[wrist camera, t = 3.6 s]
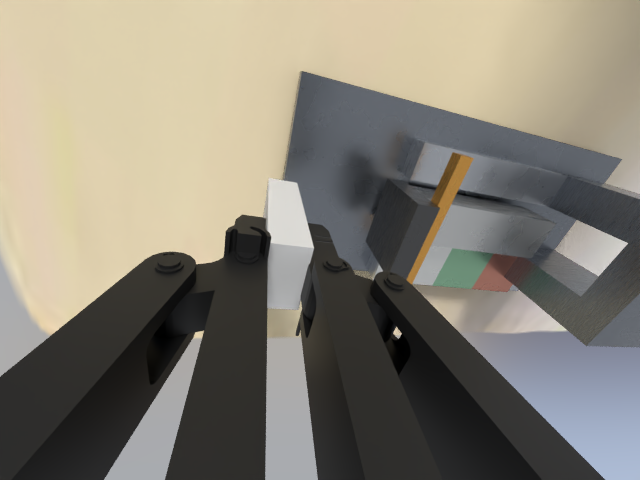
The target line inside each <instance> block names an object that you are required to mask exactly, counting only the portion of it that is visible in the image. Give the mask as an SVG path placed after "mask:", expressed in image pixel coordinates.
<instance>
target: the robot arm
mask: <svg viewBox="0 0 640 480" xmlns="http://www.w3.org/2000/svg"><path fill="white" fill-rule="evenodd" d="M300 301H301V302H302V311H301V315H300V319H299V323H298V326H297V330H296V336H299V333H300V330H301V337H302V345H303V354H304V363H305V372H306V380H307V388H308V397H309V406H310V414H311V423H312V432H313V440H314V449H315V458H316V466H317V474H318V480H605V479H604V478H603V477H602V476H601V475H600V474H599V473H598V472H597V471H596V470H595V469H594V468H593V467H592V466H591V465H590V464H589V463H588V462H587V461H586V460H585V459H584V458H583V457H582V456H581V455H580V454H579V453H578V452H577V451H576V450H575V449H574V448H573V447H572V446H571V445H570V444H569V443H568V442H567V441H566V440H565V439H564V438H563V437H562V436H561V435H560V434H559V433H558V432H557V431H556V430H555V429H554V428H553V427H552V426H551V425H550V424H549V423H548V422H547V421H546V420H545V419H544V418H543V417H542V416H541V415H540V414H539V413H538V412H537V411H536V410H535V409H534V408H533V407H532V406H531V405H530V404H529V403H528V402H527V401H526V400H525V399H524V398H523V396H522V395H521V394H520V393H518V392H517V390H516V389H515V388H514V387H513V386H512V385H511V384H510V383H509V382H507V380H506V379H505V378H504V377H503V376H502V375H501V374H500V373H499V372H498V371H497V370H496V369H495V368H494V367H493V366H492V365H491V364H490V363H489V362H488V361H487V360H486V359H485V358H484V357H483V356H482V355H481V354H480V353H479V352H478V351H477V350H476V349H475V348H474V347H473V346H472V345H471V344H470V343H469V342H468V341H467V340H466V339H465V338H464V337H463V336H462V335H461V334H460V333H459V332H458V331H457V330H456V329H455V328H454V327H453V326H452V325H451V324H450V323H449V322H448V321H447V320H446V319H445V318H444V317H443V316H442V315H441V314H440V313H439V312H438V311H437V310H436V309H435V308H434V307H433V306H432V305H431V304H430V303H429V302H428V301H427V300H426V299H425V298H424V297H423V296H422V295H421V294H420V293H419V292H418V291H417V290H416V289H415V288H414V287H413V286H412V285H411V284H410V283H409V282H408V281H407V280H406V279H405V278H403V277H401V276H399V275H398V274H396V273H392V272H384V271H383V272H379V273H377V274H376V275H375V278H374V280H370V279H367V278H363V277H360V276H358V275H355V274H354V272H353V269H352V267H351V266H350V264H349V263H348V262H346V261H345V260H344V259H342V258H339V256H338V254H337V251H336V249H335V246H334V243H333V241H332V238H331V236H330V233H329V231H328V230H327V229H326V228H325V227H324V226H323V225H319V224H312V223H307V219H306V215H305V211H304V207H303V204H302V200H301V196H300V192H299V188H298V184H297V183H295V182H290V181H284V180H278V179H272V178H269V180H268V187H267V194H266V201H265V208H264V215H263V218H262V217H255V216H247V215H241V216H240V217H239V218H237V219H236V221H235V225H234V226H232V227H229V228H228V229H227V231H226V236H225V251H224V257H223V258H222V259H220V260H218V261H215V262H212V263H206V264H197V265H196V262H195V260H194V259H193V258H192V257H191V256H189V255H187V254H184V253H179V252H163V253H159V254H156V255H152V256H151V257H149V258H147V259H145V260H144V261H143V262H142V263H140V264H139V265H138V266H137V267H135V268H134V269H133V270H132V271H130V272H129V273H128V274H127V275H126V276H124V277H123V278H122V279H121V280H119V281H118V282H117V283H116V284H114V285H113V286H112V287H111V288H109V289H108V290H107V291H106V292H105V293H103V294H102V295H101V296H100V297H98V298H97V299H96V300H95V301H93V302H92V303H91V304H90V305H88V306H87V307H86V308H85V309H83V310H82V311H81V312H80V313H79V314H77V315H76V316H75V317H74V318H72V319H71V320H70V321H69V322H67V323H66V324H65V325H64V326H62V327H61V328H60V329H59V330H58V331H56V332H55V333H54V334H53V335H51V336H50V337H49V338H48V339H46V340H45V341H44V342H43V343H42V344H40V345H39V346H38V347H36V348H35V349H34V350H33V351H32V352H30V353H29V354H28V355H27V356H25V357H24V358H23V359H22V360H20V361H19V362H18V363H17V364H16V365H14V366H13V367H12V368H11V369H9V370H8V371H7V372H6V373H4V374H3V375H2V376H1V377H0V480H104V478H105V477H106V475H107V474H108V472H109V470H110V469H111V467H112V466H113V464H114V462H115V460H116V459H117V458H118V456H119V454H120V453H121V451H122V450H123V448H124V447H125V445H126V443H127V442H128V440H129V439H130V437H131V436H132V434H133V432H134V431H135V429H136V428H137V426H138V424H139V423H140V421H141V420H142V418H143V416H144V415H145V413H146V412H147V410H148V408H149V407H150V405H151V404H152V402H153V401H154V399H155V397H156V396H157V394H158V393H159V391H160V389H161V388H162V386H163V384H164V383H165V381H166V380H167V378H168V377H169V375H170V374H171V372H172V370H173V369H174V367H175V366H176V364H177V362H178V361H179V359H180V358H181V356H182V354H183V353H184V351H185V350H186V348H187V346H188V345H189V343H190V342H191V340H192V339H193V337H194V334H195V332H199V331H203V330H204V334H203V338H202V341H201V345H200V349H199V353H198V357H197V360H196V364H195V368H194V372H193V376H192V380H191V383H190V387H189V391H188V395H187V398H186V402H185V406H184V410H183V414H182V418H181V421H180V425H179V429H178V433H177V436H176V440H175V444H174V448H173V452H172V455H171V459H170V463H169V467H168V471H167V474H166V478H165V480H265V447H266V445H265V444H266V442H265V441H266V366H267V365H266V364H267V308H273V309H292V310H298V309H299V305H300ZM396 326H397V328H398V329H399V330H400V332H401V333H402V335H401V336H400V338H399V339H398V338H397V337H395V335H394V334H393V332H394V330H395V328H396Z"/></svg>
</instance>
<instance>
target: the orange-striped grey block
mask: <svg viewBox="0 0 640 480" xmlns="http://www.w3.org/2000/svg"><path fill="white" fill-rule="evenodd" d="M473 159H474V158H472V157H469V156H466V155H463V154H459V153H455V152H453V153H452V155H451V157H450V159H449V162H448V164H447V166H446V168H445V171H444V173H443V175H442V177H441V179H440V182H439V184H438V186H437V188H436V190H432V189H427V188H421V187H416V186H411V185H409V184H408V183H406V182H404V181H399V180H394V179H389V178H387V181H386V184H385V187H384V190H383V192H382V195H381V198H380V201H379V204H378V207H377V209H376V212H375V215H374V218H373V221H372V224H371V226H370V229H369V232H368V235H367V238H366V243H367V245H368V246H369V248H370V250H371V251H372V253H373V255H374V256H375V258H376V260H377V261H378V263H379V265H380V267H381V268H382V270H383V271H384V272H392V273H396V274H398V275H399V276H401V277H403V278H405V279H406V280H407V281H408V282H409V283H410V284H411V285H412V283H413V281H414V279H415V277H416V275H417V273H418V271H419V269H420V267H421V265H422V263H423V261H424V259H425V257H426V255H427V253H428V251H429V249H430V247H431V246H439V247H447V248H455V249H462V250H470V251H478V252H486V253H494V254H501V255H509V256H517V257H525V258H532V257H533V255H534V254H535V253H536V251H537V250H538V248H539V247H540V246H541V244H542V243H543V241H544V240H545V239H546V237H547V236H548V234H549V233H550V232H551V230H552V229H553V227H554V226H555V225H556V223H555V222H553V221H551V220H549V219H547V218H545V217H543V216H541V215H539V214H537V213H535V212H533V211H531V210H529V209H527V208H525V207H522V206H517V205H512V204H507V203H501V202H496V201H491V200H485V199H480V198H475V197H469V196H464V195H459V194H457V192H458V190H459V188H460V186H461V184H462V181H463V179H464V177H465V175H466V173H467V171H468V169H469V167H470V165H471V163H472V161H473Z"/></svg>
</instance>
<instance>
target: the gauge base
mask: <svg viewBox="0 0 640 480" xmlns="http://www.w3.org/2000/svg"><path fill="white" fill-rule="evenodd" d="M453 152H455V153H459V154H463V155H466V156H469V157H472V158H474V159H473V161H472V163H471V165H470V167H469V169H468V171H467V173H466V175H465V177H464V179H463V181H462V184H461V186H460V188H459V190H458V192H457V194H459V195H464V196H469V197H475V198H480V199H485V200H491V201H496V202H501V203H507V204H512V205H517V206H522V207H525V208H527V209H529V210H531V211H533V212H535V213H537V214H539V215H541V216H543V217H545V218H547V219H549V220H551V221H553V222H555V223H556V225H555V226H554V227H553V229H552V230H551V232H550V233H549V234H548V236H547V237H546V239H545V240H544V241H543V243H542V244H541V246H540V247H539V248H538V250H537V251H536V253H535V254H534V255H533V257H532V258H525V257H517V256H509V255H501V254H494V253H486V252H478V251H470V250H462V249H455V248H447V247H439V246H431V247H430V249H429V251H428V253H427V255H426V257H425V259H424V261H423V263H422V265H421V267H420V269H419V271H418V273H417V275H416V277H415V279H414V281H413V283H412V284H420V285H432V286H444V287H455V288H467V289H479V290H490V291H502V292H508V290H513V291H518V290H520V291H521V292H523V293H524V294H525V295H526V296H527V297H529V298H530V299H531V300H532V301H533V302H535V303H536V304H537V305H538V306H539V307H540V308H542V309H543V310H544V311H545V312H546V313H548V314H549V315H550V316H551V317H552V318H554V319H555V320H556V321H557V322H558V323H560V324H561V325H562V326H563V327H564V328H566V329H567V330H568V331H569V332H570V333H572V334H573V335H574V336H575V337H577V339H579V340H580V341H581V342H582V343H583V344H585V345H586V346H609V347H610V346H611V347H640V194H637V193H634V192H631V191H627V190H624V189H621V188H618V187H614V186H611V185H608V184H605V181H606V180H607V179H608V177H609V176H610V175H611V173H612V172H613V171H614V169H615V168H616V167H617V165H618V164H619V163H620V161H621V160H622V159H619V158H615V157H612V156H608V155H605V154H601V153H597V152H594V151H590V150H586V149H583V148H579V147H575V146H572V145H568V144H565V143H561V142H557V141H554V140H550V139H546V138H543V137H539V136H536V135H532V134H528V133H525V132H521V131H517V130H514V129H510V128H507V127H503V126H499V125H496V124H492V123H488V122H485V121H481V120H477V119H474V118H470V117H467V116H463V115H459V114H456V113H452V112H448V111H445V110H441V109H438V108H434V107H430V106H427V105H423V104H419V103H416V102H412V101H409V100H405V99H401V98H398V97H394V96H390V95H387V94H383V93H379V92H376V91H372V90H369V89H365V88H361V87H358V86H354V85H350V84H347V83H343V82H340V81H336V80H332V79H329V78H325V77H321V76H318V75H314V74H311V73H307V72H303V71H301V72H300V76H299V82H298V88H297V95H296V101H295V107H294V113H293V119H292V125H291V131H290V138H289V144H288V150H287V156H286V162H285V168H284V175H283V180H284V181H290V182H295V183H297V184H298V188H299V192H300V196H301V200H302V204H303V207H304V211H305V215H306V219H307V223H312V224H319V225H323V226H324V227H325V228H326V229H327V230H328V231H329V233H330V236H331V238H332V241H333V243H334V246H335V249H336V251H337V254H338V256H339V258H342V259H344V260H345V261H346V262H348V263H349V264H350V266H351V267H352V269H353V270H361V271H368V272H369V274H370V276H371V278H372V280H374V278H375V275H376V274H377V273H379V272H383V270H382V268H381V267H380V265H379V263H378V261H377V260H376V258H375V256H374V255H373V253H372V251H371V250H370V248H369V246H368V245H367V243H366V238H367V235H368V232H369V229H370V226H371V224H372V221H373V218H374V215H375V212H376V209H377V207H378V204H379V201H380V198H381V195H382V192H383V190H384V187H385V184H386V181H387V178H389V179H394V180H399V181H404V182H406V183H408V184H409V185H411V186H416V187H421V188H427V189H432V190H436V188H437V186H438V184H439V182H440V179H441V177H442V175H443V173H444V171H445V168H446V166H447V164H448V162H449V159H450V157H451V155H452V153H453ZM576 220H579V221H581V222H583V223H585V224H587V225H590V226H592V227H594V228H596V229H598V230H601V231H603V232H605V233H607V234H610V235H612V236H614V237H616V238H618V239H621V240H623V241H625V242H627V243H628V245H627V246H626V247H625V248H624V249H623V250H622V251H621V252H620V254H619V255H618V256H617V257H616V258H615V259H614V260H613V261H612V262H611V264H610V265H609V266H608V267H607V268H606V269H605V270H604V271H603V273H602V274H601V275H600V276H599V277H598V276H597V275H595V274H593V273H592V272H590V271H588V270H587V269H585V268H583V267H582V266H580V265H578V264H577V263H575V262H573V261H572V260H570V259H568V258H567V257H565V256H563V255H561V254H560V253H558V252H556V251H555V250H554V249H555V248H556V247H557V245H558V244H559V243H560V241H561V240H562V239H563V237H564V236H565V235H566V233H567V232H568V231H569V229H570V228H571V227H572V225H573V224H574V223H575V221H576Z"/></svg>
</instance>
